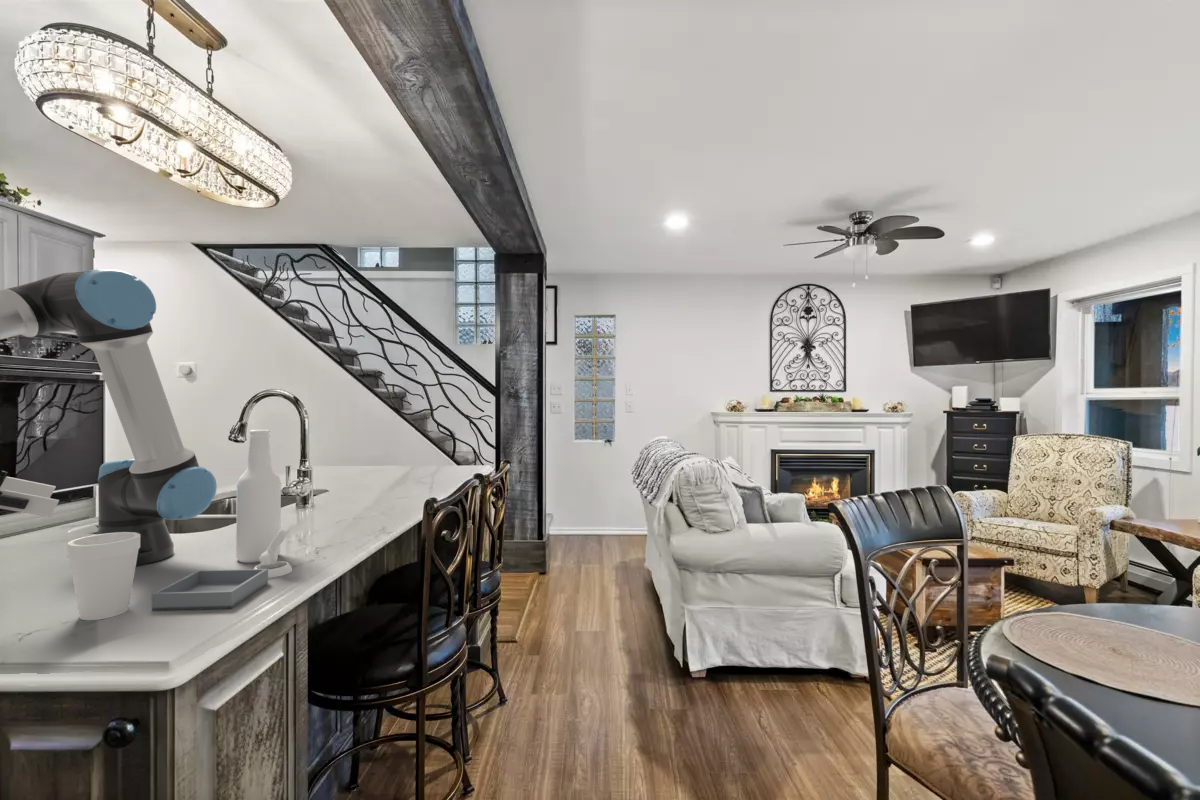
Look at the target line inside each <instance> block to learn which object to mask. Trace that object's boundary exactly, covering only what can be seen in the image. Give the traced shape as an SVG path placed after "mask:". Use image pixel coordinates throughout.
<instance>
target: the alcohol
mask: <svg viewBox="0 0 1200 800" xmlns="http://www.w3.org/2000/svg"><path fill="white" fill-rule="evenodd" d="M269 433H270V430H269V429H250V430H249V448H248V458H247V466H246V469H245V471H244V472H243V473H242V474H241V475H240V477H239V478H238V480H237V483H236V519H235V520H236V527H235V528H236V529H235V530H236V533H235V535H236V536H235V537H236V538H235V539H236V546H235V550H236V552H235V557H236V559H237V560H238V562H240V563H244V564H256V563H260V561H259V557H261V554H262V553H264V552H265V551H266V550H267V549H268V547H269V546H270V544H271V543H272V541H273V540H274V538H275V536H276V535H277V533H278V532H279V531H280V530H281V529H282V528H281V522H282V517H281V516H282V514H281V513H282V511H281V510H282V507H281V505H282V504H281V503H282V499H281V498H282V494H281V493H282V482H281V479H280V478H281V477H280V476H279V474H278V473H277V472H276V471H275V470H274V469H273V467H272V460H271V450H270V449H271V448H270V434H269ZM276 553H277V557H278V556H279V555H280V554H281V545H280V546H279V548H278V549H277V551H276ZM278 558H279V557H278Z"/></svg>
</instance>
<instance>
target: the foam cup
mask: <svg viewBox="0 0 1200 800" xmlns="http://www.w3.org/2000/svg"><path fill="white" fill-rule="evenodd" d="M66 543H67V542H66ZM66 546H67V547H66V550H67V552H66V555H67V556H66V557H67V558H68V560H69V566H70V572H71V578H72V583H73V589H74V595H75V600H76V605H77V610H78V611H77V612H78V615H79V619H80V620H82V621H97V620H103V619H109V618H113V617H116V616H119V615H122V614H124V613H126V612H127V611H128V610H129V607H130V601H131V596H132V590H133V583H134V577H135V573H136V567H137V565H136V561H137V555H138V549H139V548H140V534H138V533H136V532H117V533H106V534H98V535H96V534H91V535H89V536H88V535H87V536H82V537H79V538H78V537H77V538H76V539H72V540H70V541H69V542H68V543H67V544H66Z"/></svg>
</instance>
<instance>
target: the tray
mask: <svg viewBox="0 0 1200 800" xmlns="http://www.w3.org/2000/svg"><path fill="white" fill-rule="evenodd" d="M268 579H269V578H268V569H254V568H250V569H249V568H248V569H247V568H243V569H242V568H241V569H238V568H237V569H201V570H200V569H198V570H196V571H194V572H192V573H190V574H188V575H186V576H184V577H182V578H180V579H178V580H177V581H175V582H172V583H171V584H169V585H167V586H165V587H163V588H161V589H159V590H156V591H155V592H153V593H152V594H151V595H152V596H151V611H152V612H154V611H155V612H157V611H191V610H192V611H193V610H195V611H197V610H224V609H225V610H228V609H230V610H231V609H233V608H235V607H236V606H238V605H239V604H241V603H242V602H243V601H245V600H246V599H248V598H249V597H250V596H252V595H254V594H255V593H256V592H258V591H259V590H261V589H262V588H264V587H265V586H266V585H268V583H269V580H268Z"/></svg>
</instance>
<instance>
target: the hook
mask: <svg viewBox="0 0 1200 800" xmlns="http://www.w3.org/2000/svg"><path fill="white" fill-rule="evenodd" d="M289 531H290V530H289V529H288V528H287V527H285V526H284V527H282V528H281V530H280V531H279V532H278V533H277V535H276V536H275V538H274V540H273V541H272V543H271V544H270V546H269V547H268V549H267V550H266V551H265V552H264V553H262V554H261V557H259V561H260V562H259V564H257V565H255V566H254V567H253V569H268V579H271V578H278V577H282V576H285V575H288V574H290V573H291V572H292V571H293V568H292V566H291V564H290V562H288V561H287V560H286V561H284V560H278V559H279V557H277V553H276V551H277V549H278V548H279V546H280V547H281V545H282V543H283V542H284V540H285V538H286V537H287V536H288V534H289Z"/></svg>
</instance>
